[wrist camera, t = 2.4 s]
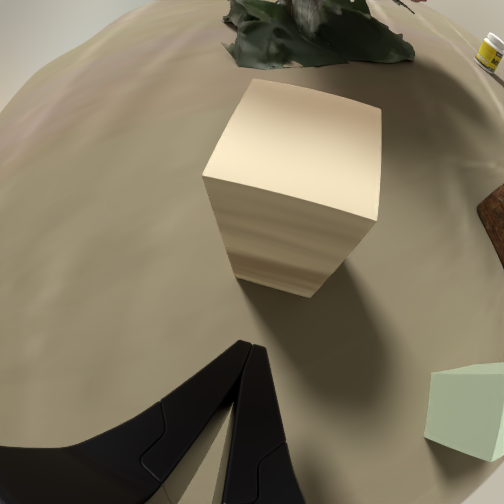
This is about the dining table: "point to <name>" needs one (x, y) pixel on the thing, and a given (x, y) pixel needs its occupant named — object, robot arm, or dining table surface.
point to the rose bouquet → (311, 34)
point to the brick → (494, 219)
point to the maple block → (294, 184)
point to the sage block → (468, 410)
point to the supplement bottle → (490, 53)
